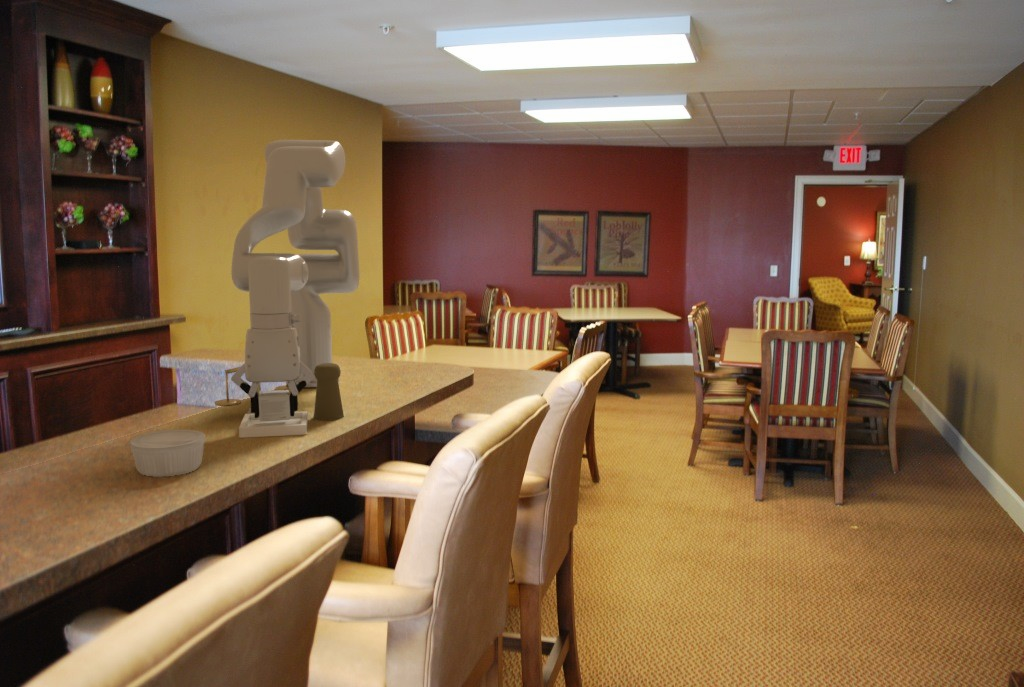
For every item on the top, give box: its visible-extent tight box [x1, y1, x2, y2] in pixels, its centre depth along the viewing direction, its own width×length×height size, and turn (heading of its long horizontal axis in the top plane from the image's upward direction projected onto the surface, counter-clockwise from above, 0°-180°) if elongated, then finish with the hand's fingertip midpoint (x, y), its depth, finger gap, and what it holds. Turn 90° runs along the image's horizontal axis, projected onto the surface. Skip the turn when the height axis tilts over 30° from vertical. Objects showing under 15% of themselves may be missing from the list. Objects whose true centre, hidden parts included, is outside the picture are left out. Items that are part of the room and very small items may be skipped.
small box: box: [259, 389, 290, 422], centre depth 162 cm, size 6×6×5 cm
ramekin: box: [129, 429, 206, 478], centre depth 135 cm, size 11×11×5 cm
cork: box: [313, 362, 345, 421], centre depth 171 cm, size 6×6×11 cm
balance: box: [214, 366, 291, 414], centre depth 172 cm, size 6×17×12 cm, turn 102°
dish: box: [238, 410, 309, 439], centre depth 162 cm, size 12×12×2 cm
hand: (274, 414), depth 162 cm, fingers closed on small box, 5 cm apart
